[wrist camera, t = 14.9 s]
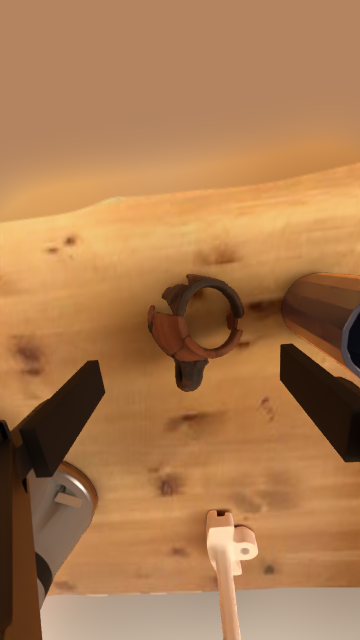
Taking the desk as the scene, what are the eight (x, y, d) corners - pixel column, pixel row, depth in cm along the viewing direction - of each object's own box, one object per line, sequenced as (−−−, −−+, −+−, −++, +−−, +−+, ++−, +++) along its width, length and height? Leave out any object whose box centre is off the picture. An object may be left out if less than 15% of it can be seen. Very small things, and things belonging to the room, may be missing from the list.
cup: (280, 338, 25) (336, 386, 16) (281, 276, 23) (346, 287, 14) (345, 333, 25) (444, 380, 15) (352, 269, 23) (471, 275, 13)
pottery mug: (139, 282, 25) (163, 265, 17) (209, 284, 28) (254, 272, 21) (143, 385, 25) (168, 413, 17) (212, 374, 29) (257, 393, 21)
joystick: (201, 511, 33) (217, 852, 14) (250, 507, 33) (335, 861, 13) (212, 557, 36) (236, 893, 17) (256, 555, 35) (335, 903, 16)
